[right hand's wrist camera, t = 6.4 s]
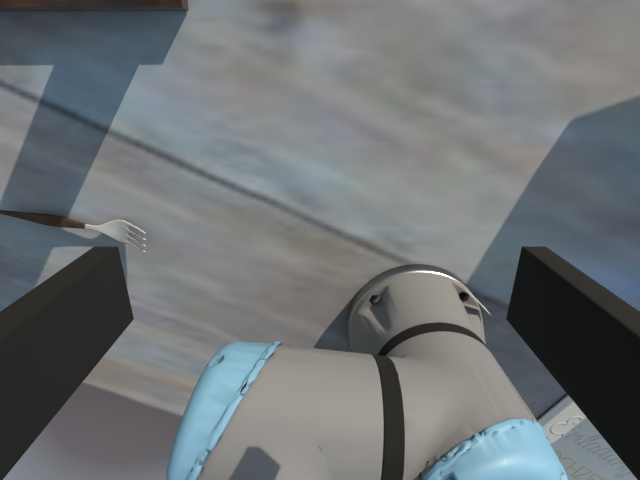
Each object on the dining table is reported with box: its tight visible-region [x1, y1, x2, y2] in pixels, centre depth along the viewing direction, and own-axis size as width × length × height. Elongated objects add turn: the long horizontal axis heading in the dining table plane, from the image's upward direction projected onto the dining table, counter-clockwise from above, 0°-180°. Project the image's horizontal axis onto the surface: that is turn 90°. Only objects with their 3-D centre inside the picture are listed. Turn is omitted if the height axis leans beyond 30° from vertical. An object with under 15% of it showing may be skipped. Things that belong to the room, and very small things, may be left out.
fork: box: [0, 210, 146, 253], centre depth 39 cm, size 3×16×2 cm, turn 79°
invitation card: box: [537, 395, 637, 480], centre depth 53 cm, size 21×1×15 cm
